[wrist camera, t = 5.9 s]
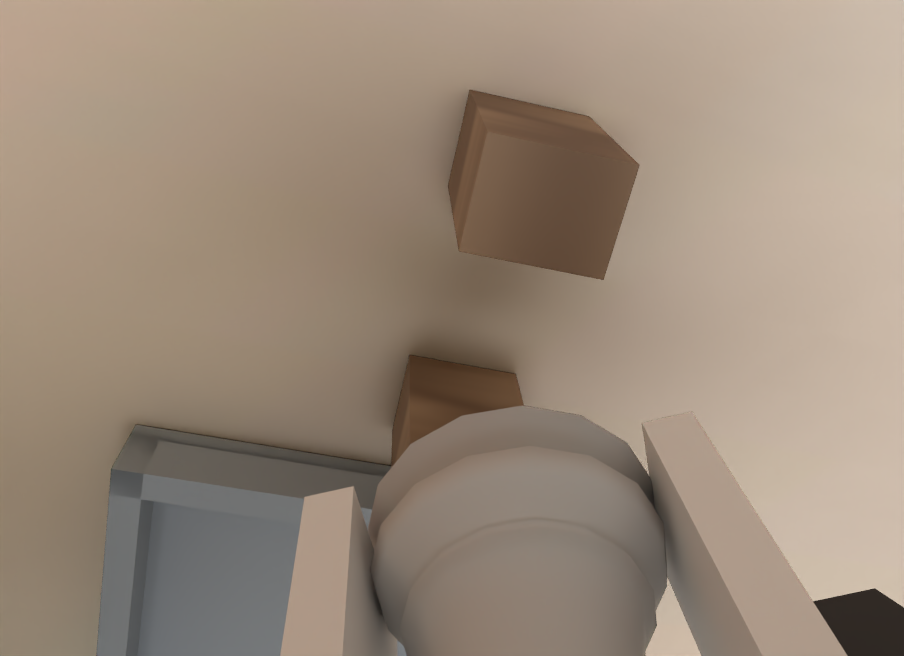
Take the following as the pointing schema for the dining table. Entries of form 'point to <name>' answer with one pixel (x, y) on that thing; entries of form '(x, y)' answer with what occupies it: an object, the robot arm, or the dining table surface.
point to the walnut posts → (518, 231)
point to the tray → (209, 542)
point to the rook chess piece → (518, 540)
